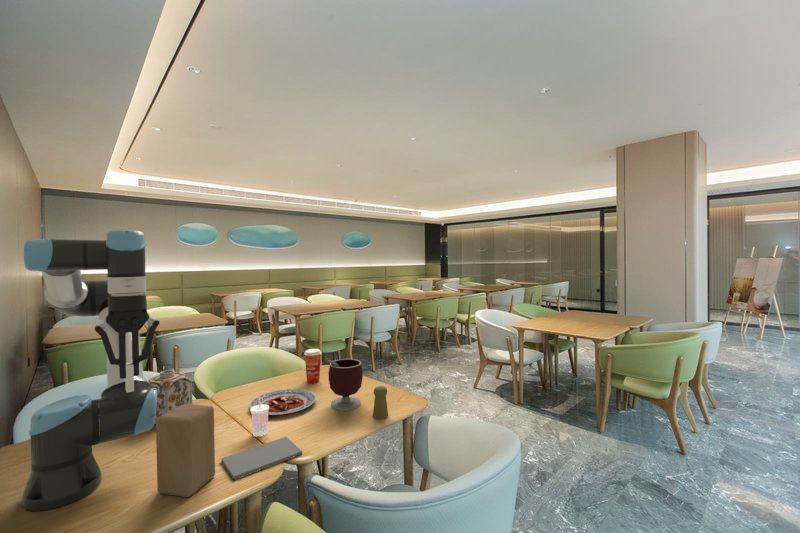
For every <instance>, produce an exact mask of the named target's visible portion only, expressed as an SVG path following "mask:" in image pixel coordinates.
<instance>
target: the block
mask: <svg viewBox="0 0 800 533" xmlns="http://www.w3.org/2000/svg"><path fill="white" fill-rule="evenodd" d="M155 437H156V438H155V440H156V443H155V445H156V477H157V478H156V480H157V481H156V482H157V483H156V485H157V488H156V489H157V492H158V493H159V494H162V495H170V496H178V497H181V498H182V497H183V498H188V497H191V496H193V495H194V494H195V493H196V492H198V491H199V490H200V489H201V488H203V486H205V485H206V484H207V483H208V482H210V481H211V480H212V479H213V478H214V477H215V474H216V458H215V457H216V455H215V454H216V452H215V451H216V450H215V448H216V445H215V408H214V406H212V405H201V404H193V403H192V404H183V405H181V406H179V407H177V408H175V409H173V410H171V411H169V412H167V413H165V414H163V415H162V416H160V417H158V418H157V419H156V425H155Z"/></svg>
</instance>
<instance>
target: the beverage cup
mask: <svg viewBox="0 0 800 533" xmlns="http://www.w3.org/2000/svg"><path fill="white" fill-rule="evenodd" d="M260 396H261V392H259V393H258V397H259V405H256V406H253V407H251V408H249V409H250V413H251V414H250V415H251V422H252V435H253V437H257V436H260V437H264V436H266V435H267V434H268V428H269V427H268V426H269V425H268V424H269V415H268V410H269V405H266V404H261V403H260ZM263 435H264V436H263Z"/></svg>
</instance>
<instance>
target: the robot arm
mask: <svg viewBox="0 0 800 533" xmlns="http://www.w3.org/2000/svg"><path fill="white" fill-rule="evenodd" d="M146 246H147V243H146V239H145V234H144V233H143V232H142V231H140V230H127V229H125V230H124V229H123V230H121V229H119V230H118V229H117V230H110V231H109V230H108V231H107V233H106V238H105V239H103V240H102V239H61V238H57V239H56V238H40V239H39V238H38V239H37V238H36V239H28V240H26V241H25V242H24V244H23V263H24V267H25V269H26V270H28V271H31V272H32V271H33V272H41V274H42V277H43V280H44V283H45V285H46V288H45V290H44V298H45V300H46V302H47V304H48V305H49V306H51V308H53V309H54V310H57V311H58V312H61V313H64V314H67V315H71V316H73V317H74V316H76V317H83V318H84V317H95V316H96V317H98V320H99V321H100V322H101V323H100V324H96V325H95V326H94V331H95V332H96V333H97V334H98V335H99V336H100V338H101V342H102V344H103V346H104V349H105V354H106V356H105V357H106V376H107V377H106V378H107V381H106V382H107V387H105V388H104V389H103V390H102V391H101V392H100V393H101V394H100V398H97V399H93V400H92V397H91V396H90V395H87V394H83V395H74V396H70V397H65V398H62V399H59V400H56V401H53V402H50V403H49V404H46V405H44V406H43V407H41V408H39V409H38V410H36V411H35V412H34V413H33V414H32V416H31V418H30V426H29V427H30V428H29V431H28V435H29V436H30V465H31V467H30V468H31V471H30V474H29V476H28V480H27V481H26V485H25V486H24V489H23V490H24V491H23V493H22V496H21V500H22V501H21V502H22V503H21V504H22V508H23V509H24V510H26V511H30V512H40V511H47V510H52V509H56V508H59V507H62V506H63V507H64V506H65V505H68V504H71V503H74V502H76V501H78V500H80V499H82V498H84V497H86V496H87V495H89V494H90V493H92V492H93V491H94V490H95V489H97V488H98V487H99V485H100V484H101V483H102V471H101V468H100V467H99V463H97V460H96V459H95V456H94V455H93V446H95V445H99V444H103V443H107V442H112V441H115V440H116V441H117V440H120V439H124V438H127V437H131V436H137V435H139V434H142V433H145V432H149V431H151V429H153V428H154V427H155V425H154V424H155V418H156V408H157V389H156V388H151V387H150V383H149V382H148V381H149V380H146V379H144V369H143V361H146V360H148V358H149V356H150V352H151V351H150V350H151V347H152V343H153V338H154V334H155V332H156V329H157V328H158V326H159V325H160V322H161V321H160V320H158V319H155V318H152V317H151V316H150V314H149V313H148V310H147V309H148V300H147V295H146V294H147V293H146V292H147V280H146V279H147V278H146V277H147V275H146ZM89 270H90V271H92V270H93V271H96V270H98V271H99V270H101V271H102V270H107V277H106V279H107V280H83V279H82V271H89ZM146 323H147V324H146ZM145 324H146V326H148V327H147V330H146V334H145V339H144V343H143V346H142V348H141V339H140V330H141V329H142V328H143V327H144V325H145ZM141 349H142V350H141Z"/></svg>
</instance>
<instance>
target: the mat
mask: <svg viewBox="0 0 800 533" xmlns="http://www.w3.org/2000/svg"><path fill="white" fill-rule="evenodd" d="M300 454H302V455H303V450H302V449H301V448H299V446H298V445H297V444H295V443H294V442H293V441H292V440H290V439H289V438H288V437H287V436H284V437H281V438H278V439H275V440H273V441H269V442H266V443H263V444H261V445H260V444H259V445H257V446H254V447H251V448H248V449H245V450H243V451H240V452H236V453H233V454H231V455H228V456H224V457H222V458H221V459H220V460H221V463H222V465H223V466H224V467H225V470H227V472H228V475H230V477H231V476H232V477H231V479H232V480H233V479H236V478H238V479H240V478H239V477H241V478H243V477H242V476H244V477H246V476H248V475H247V474H249V475H251V474H253V473H252V472H254V473H256V472H255V471H257V470H259V469H262V468H265V469H267V468H269V466H270V467H272V466H274V465H278V464H281V463H282V462H285V461H288V460H290V458H291V457H293V456H296V457H298V456H297V455H299V456H301V455H300ZM291 459H292V458H291ZM266 467H267V468H266ZM262 470H263V469H262ZM259 471H260V470H259ZM257 472H258V471H257ZM250 473H251V474H250ZM245 475H246V476H245ZM236 480H237V479H236Z"/></svg>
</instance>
